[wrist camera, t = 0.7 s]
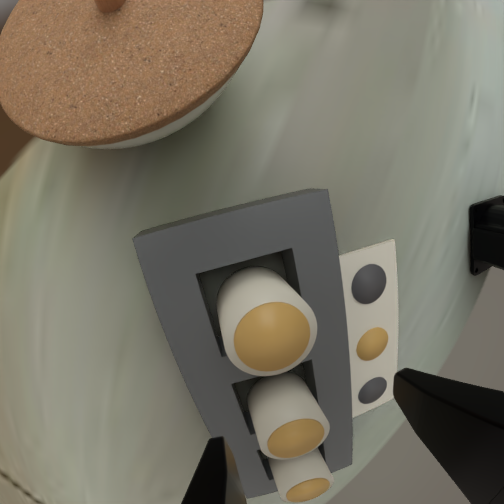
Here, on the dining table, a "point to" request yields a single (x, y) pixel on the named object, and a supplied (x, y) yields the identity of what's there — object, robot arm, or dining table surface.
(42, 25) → the lidded jar
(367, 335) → the card
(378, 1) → the dining table surface
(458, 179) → the dining table surface
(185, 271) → the board
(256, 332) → the button
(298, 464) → the button
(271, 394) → the button
